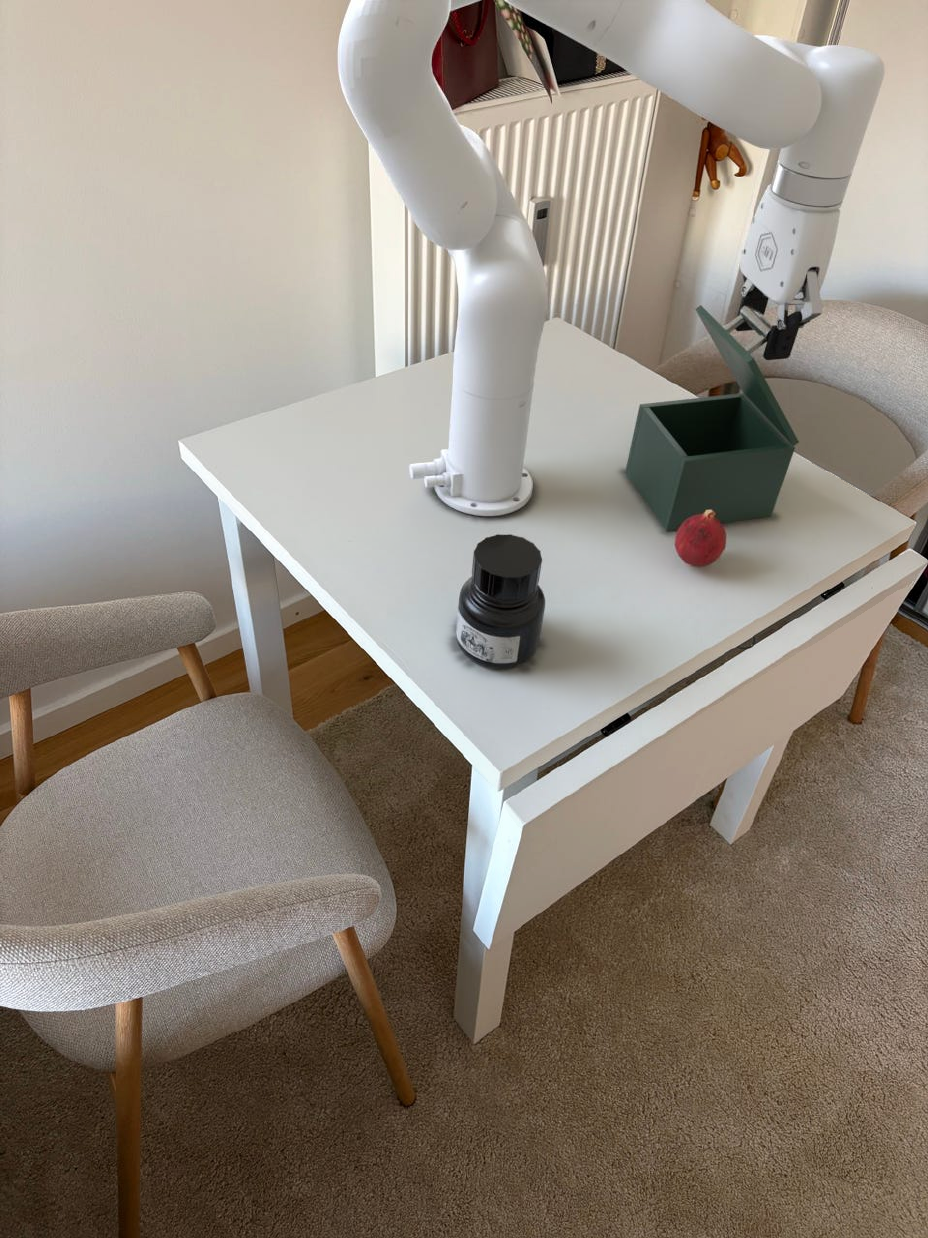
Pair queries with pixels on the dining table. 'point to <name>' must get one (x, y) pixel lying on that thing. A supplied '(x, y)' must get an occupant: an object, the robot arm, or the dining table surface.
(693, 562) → the onion
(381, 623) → the dining table surface
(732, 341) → the bin lid
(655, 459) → the bin
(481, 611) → the ink bottle
